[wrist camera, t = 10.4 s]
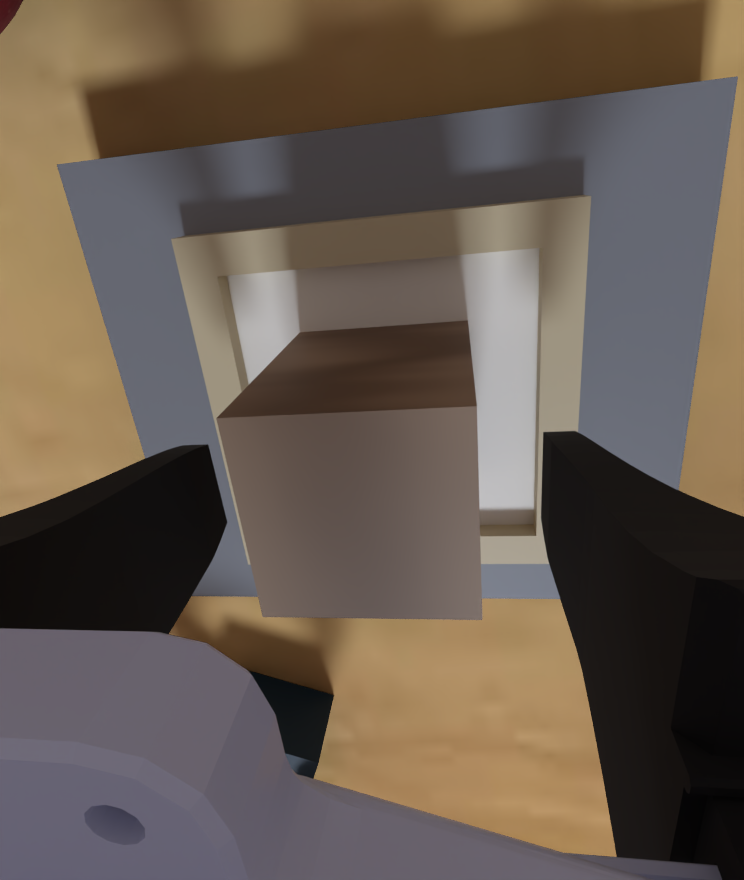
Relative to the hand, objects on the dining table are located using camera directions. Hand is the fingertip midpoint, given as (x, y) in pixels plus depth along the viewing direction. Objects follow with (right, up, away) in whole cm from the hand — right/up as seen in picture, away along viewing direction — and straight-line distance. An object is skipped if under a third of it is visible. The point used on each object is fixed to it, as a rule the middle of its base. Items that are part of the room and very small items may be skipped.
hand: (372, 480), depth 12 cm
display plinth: (+1, +3, +6) cm, 6 cm away
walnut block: (0, +2, +4) cm, 4 cm away
